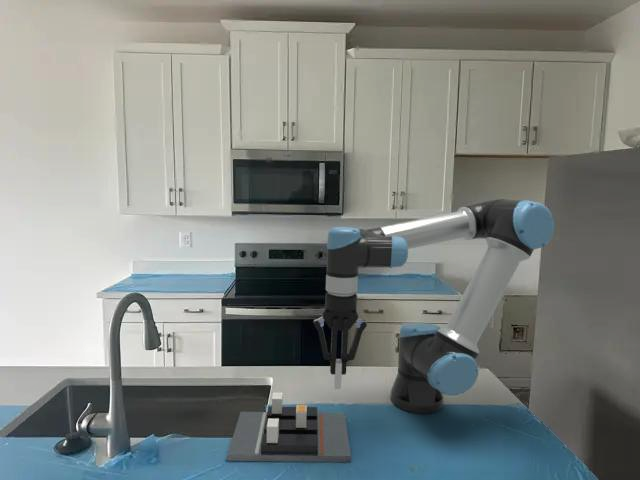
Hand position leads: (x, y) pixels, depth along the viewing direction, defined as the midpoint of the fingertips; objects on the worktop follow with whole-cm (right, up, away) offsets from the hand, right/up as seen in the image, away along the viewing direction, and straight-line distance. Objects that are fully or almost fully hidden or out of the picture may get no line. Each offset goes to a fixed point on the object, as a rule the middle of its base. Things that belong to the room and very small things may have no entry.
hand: (337, 386), depth 109 cm
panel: (-11, -13, +2) cm, 18 cm away
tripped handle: (-9, -10, +1) cm, 13 cm away
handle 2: (-15, -10, -5) cm, 19 cm away
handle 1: (-16, -9, +8) cm, 19 cm away
